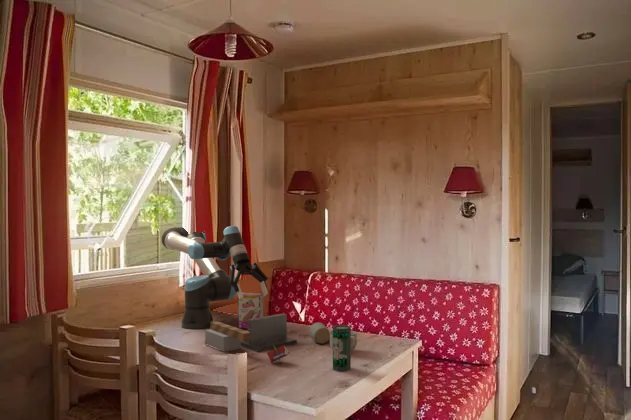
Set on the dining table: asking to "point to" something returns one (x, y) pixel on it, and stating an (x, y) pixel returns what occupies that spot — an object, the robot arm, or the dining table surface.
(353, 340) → the teacup
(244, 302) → the candy bar box
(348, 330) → the can
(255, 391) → the dining table surface
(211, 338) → the grey stand
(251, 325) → the metal ridge
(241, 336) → the walnut bar
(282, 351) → the geometric puzzle
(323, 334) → the ceramic mug
